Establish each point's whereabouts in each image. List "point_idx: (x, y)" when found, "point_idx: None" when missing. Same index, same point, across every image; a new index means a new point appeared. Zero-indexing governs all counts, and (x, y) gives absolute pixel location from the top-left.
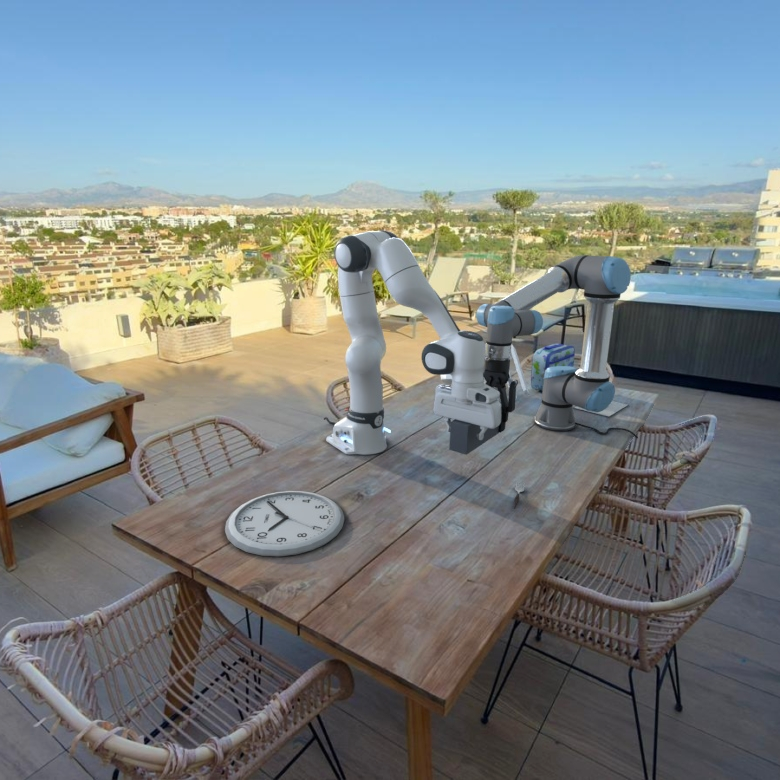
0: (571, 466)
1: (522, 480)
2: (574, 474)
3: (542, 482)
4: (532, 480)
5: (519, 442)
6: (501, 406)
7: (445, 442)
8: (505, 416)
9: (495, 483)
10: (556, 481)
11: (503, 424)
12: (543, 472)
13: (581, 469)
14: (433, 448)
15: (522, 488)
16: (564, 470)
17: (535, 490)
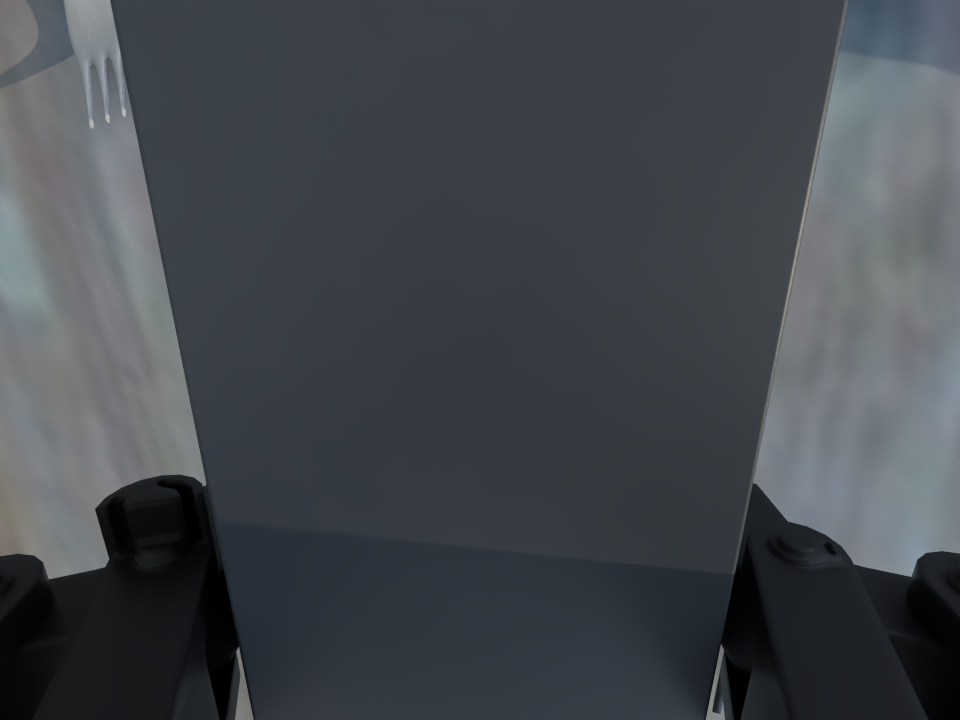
0: (99, 558)
1: (106, 109)
2: (25, 479)
3: (81, 262)
4: (141, 248)
5: None
6: (250, 664)
7: (882, 417)
8: (207, 501)
9: None
10: (34, 331)
11: None
12: (161, 397)
13: (40, 555)
14: (933, 278)
15: (87, 50)
16: (94, 492)
17: (37, 116)
